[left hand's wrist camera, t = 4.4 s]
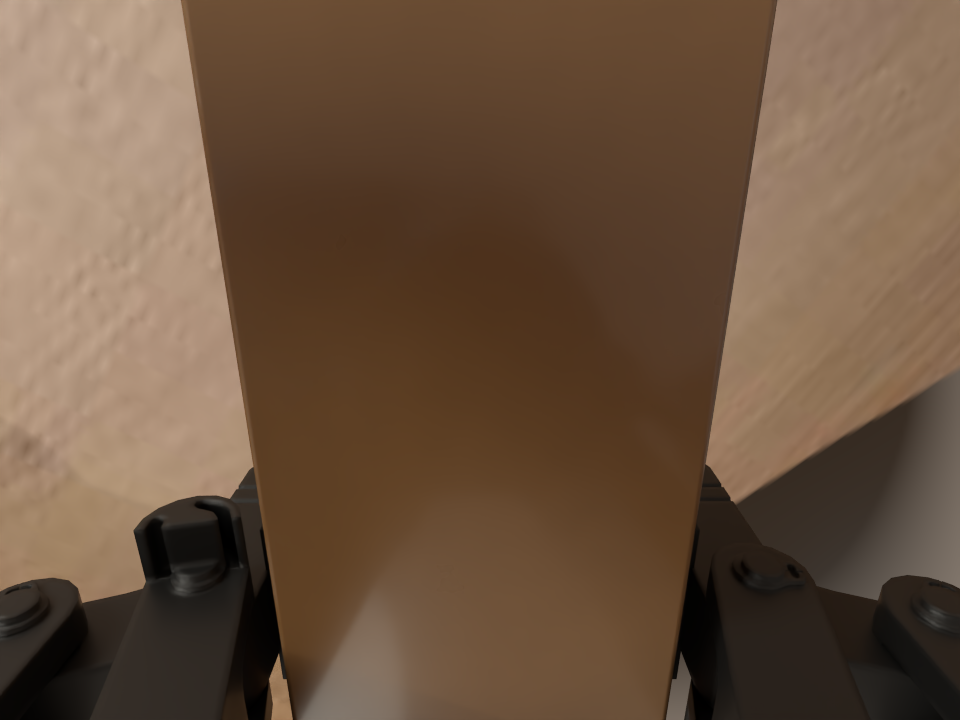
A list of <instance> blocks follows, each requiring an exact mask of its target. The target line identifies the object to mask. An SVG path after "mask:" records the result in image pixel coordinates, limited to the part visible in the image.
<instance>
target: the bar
mask: <svg viewBox="0 0 960 720" xmlns="http://www.w3.org/2000/svg"><path fill="white" fill-rule="evenodd" d="M181 3H182V10H183V16H184V23H185V29H186V36H187V42H188V48H189V55H190V61H191V68H192V74H193V81H194V87H195V93H196V100H197V106H198V113H199V119H200V126H201V132H202V138H203V145H204V151H205V158H206V164H207V171H208V177H209V183H210V190H211V196H212V203H213V209H214V215H215V222H216V228H217V235H218V241H219V248H220V254H221V260H222V267H223V273H224V280H225V286H226V293H227V299H228V305H229V312H230V318H231V325H232V331H233V338H234V344H235V350H236V357H237V363H238V370H239V376H240V383H241V389H242V395H243V402H244V408H245V415H246V421H247V428H248V434H249V440H250V447H251V453H252V460H253V466H254V473H255V479H256V485H257V492H258V498H259V505H260V511H261V518H262V524H263V530H264V537H265V543H266V550H267V556H268V562H269V569H270V575H271V582H272V588H273V595H274V601H275V607H276V614H277V620H278V627H279V633H280V640H281V646H282V652H283V659H284V665H285V672H286V678H287V685H288V691H289V697H290V704H291V710H292V717H293V720H666V715H667V708H668V702H669V695H670V689H671V683H672V676H673V670H674V663H675V657H676V650H677V644H678V637H679V631H680V624H681V618H682V612H683V605H684V599H685V592H686V586H687V579H688V573H689V566H690V560H691V553H692V547H693V541H694V534H695V528H696V521H697V515H698V508H699V502H700V495H701V489H702V482H703V476H704V470H705V463H706V457H707V450H708V444H709V437H710V431H711V424H712V418H713V412H714V405H715V399H716V392H717V386H718V379H719V373H720V366H721V360H722V353H723V347H724V341H725V334H726V328H727V321H728V315H729V308H730V302H731V295H732V289H733V282H734V276H735V270H736V263H737V257H738V250H739V244H740V237H741V231H742V224H743V218H744V211H745V205H746V199H747V192H748V186H749V179H750V173H751V166H752V160H753V153H754V147H755V141H756V134H757V128H758V121H759V115H760V108H761V102H762V95H763V89H764V82H765V76H766V70H767V63H768V57H769V50H770V44H771V37H772V31H773V24H774V18H775V11H776V5H777V0H181Z"/></svg>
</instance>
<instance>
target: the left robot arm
mask: <svg viewBox="0 0 960 720" xmlns="http://www.w3.org/2000/svg"><path fill="white" fill-rule="evenodd" d="M134 535H135V539H136V543H137V547H138V551H139V555H140V559H141V563H142V567H143V571H144V575H145V579H146V583H145V585H144V588H143V589H140V590H137V591H133V592H130V593H126V594H122V595H117V596H113V597H108V598H103V599H99V600H94V601H90V602H85V603H82V601H81V597H80V594H79V591H78V588H77V587H76V586H75V585H73V584H72V583H71V582H70V581H69V580H63V579H57V578H47V579H38V580H31V581H28V582H24V583H21V584H17V585H14V586H11V587H9V588H6V589H5V590H3V591H1V592H0V720H271V716H272V707H273V702H272V695H271V689H270V683H269V678H270V675H271V672H272V670H273V667H274V664H275V662H276V659H277V657H278V654H279V656H280V662H281V668H282V675H283V679H287V678H286V672H285V665H284V659H283V652H282V646H281V640H280V633H279V627H278V620H277V614H276V607H275V601H274V595H273V588H272V582H271V575H270V569H269V562H268V556H267V550H266V543H265V537H264V530H263V524H262V518H261V511H260V505H259V498H258V492H257V485H256V479H255V473H254V467H253V468H251V469H250V470H249V471H248V473H247V474H246V476H245V477H244V479H243V480H242V482H241V483H240V485H239V489H236V491H235V492H234V494H233V495H232V497H231V498H230V499H228V498H224V497H220V496H195V497H191V498H186V499H181V500H177V501H175V502H173V503H170V504H168V505H165V506H163V507H160V508H158V509H157V510H155V511H154V512H152V513H151V514H149V515H148V516H146V517H145V518H143V520H142V521H141V522H140V523H139V524H138V526H137V527H136V528H135V529H134ZM681 652H682V655H683V657H684V660H685V662H686V665H687V668H688V670H689V673H690V676H691V683H690V689H689V695H688V701H687V706H686V712H685V718H684V720H960V589H959V588H957V587H955V586H953V585H951V584H948V583H945V582H943V581H942V582H941V581H939V580H935V579H932V578H928V577H919V576H911V575H906V576H900V577H894V578H891V579H890V580H889V581H887V582H886V583H885V584H884V585H883V586H882V589H881V592H880V596H879V599H878V601H877V600H873V599H868V598H864V597H859V596H854V595H850V594H845V593H841V592H836V591H832V590H828V589H825V588H821V587H818V586H816V584H815V582H814V580H813V579H812V577H811V576H810V574H809V573H808V571H807V570H806V569H805V567H803V566H802V565H801V564H799V563H798V562H797V561H796V560H794V559H793V558H792V557H790V556H788V555H786V554H784V553H782V552H780V551H778V550H776V549H773V548H771V547H767V546H763V545H762V544H761V542H760V541H759V539H758V538H757V536H756V535H755V533H754V532H753V530H752V529H751V527H750V526H749V524H748V523H747V521H746V520H745V519H744V517H743V516H742V514H741V513H740V511H739V510H738V508H737V507H736V505H735V504H734V502H733V501H731V500H730V496H729V495H728V493H727V492H726V490H725V489H724V487H721V483H720V481H719V480H718V479H717V477H716V476H715V474H714V473H713V471H712V470H711V468H710V467H709V466H707V465H706V464H705V470H704V476H703V482H702V489H701V495H700V502H699V508H698V515H697V521H696V528H695V534H694V541H693V547H692V553H691V560H690V566H689V573H688V579H687V586H686V592H685V599H684V605H683V612H682V618H681V624H680V631H679V637H678V644H677V650H676V657H675V663H674V670H673V676H672V679H676V678H677V672H678V665H679V659H680V653H681Z"/></svg>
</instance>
